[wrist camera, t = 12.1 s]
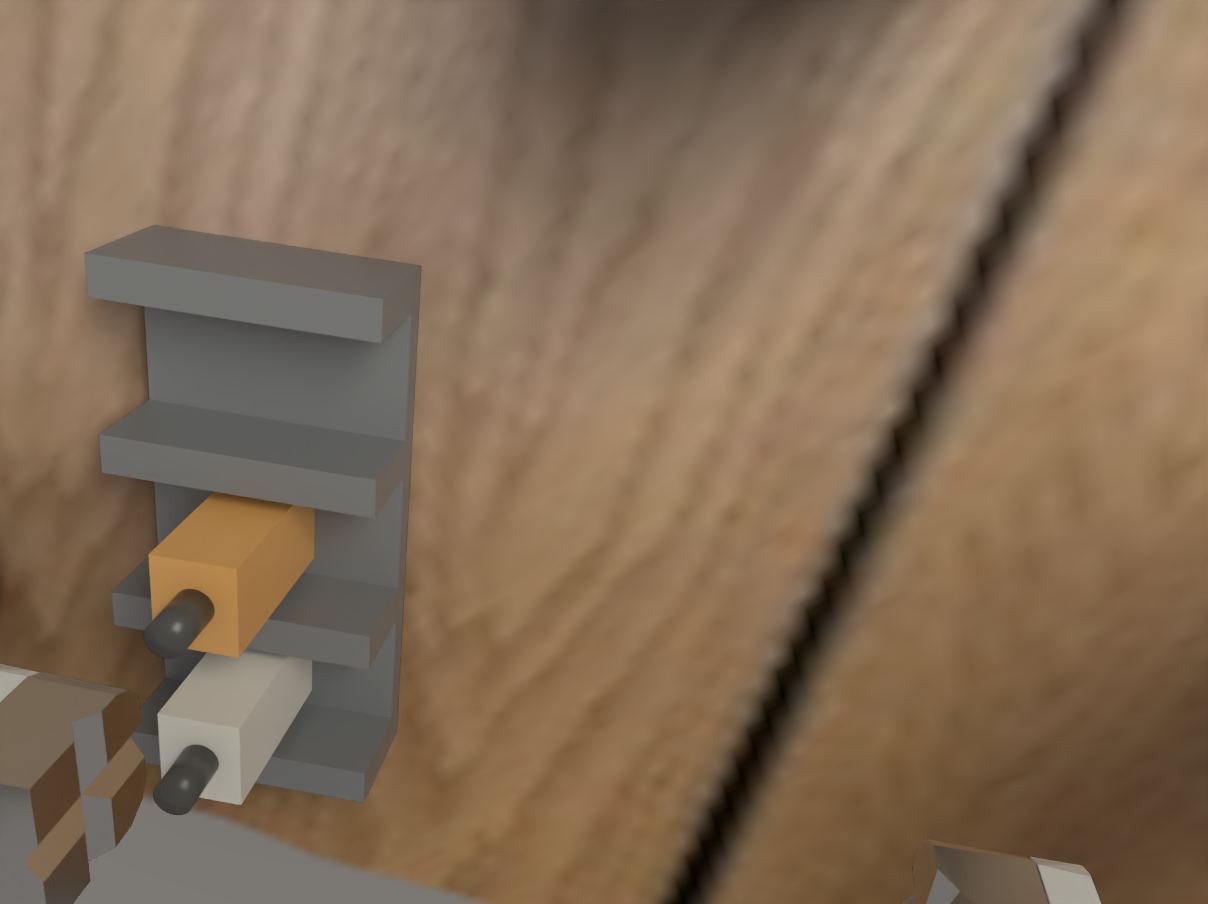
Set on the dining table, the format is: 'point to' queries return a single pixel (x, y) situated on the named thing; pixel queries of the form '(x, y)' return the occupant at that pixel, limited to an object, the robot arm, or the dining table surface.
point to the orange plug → (225, 573)
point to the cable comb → (281, 461)
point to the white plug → (226, 726)
